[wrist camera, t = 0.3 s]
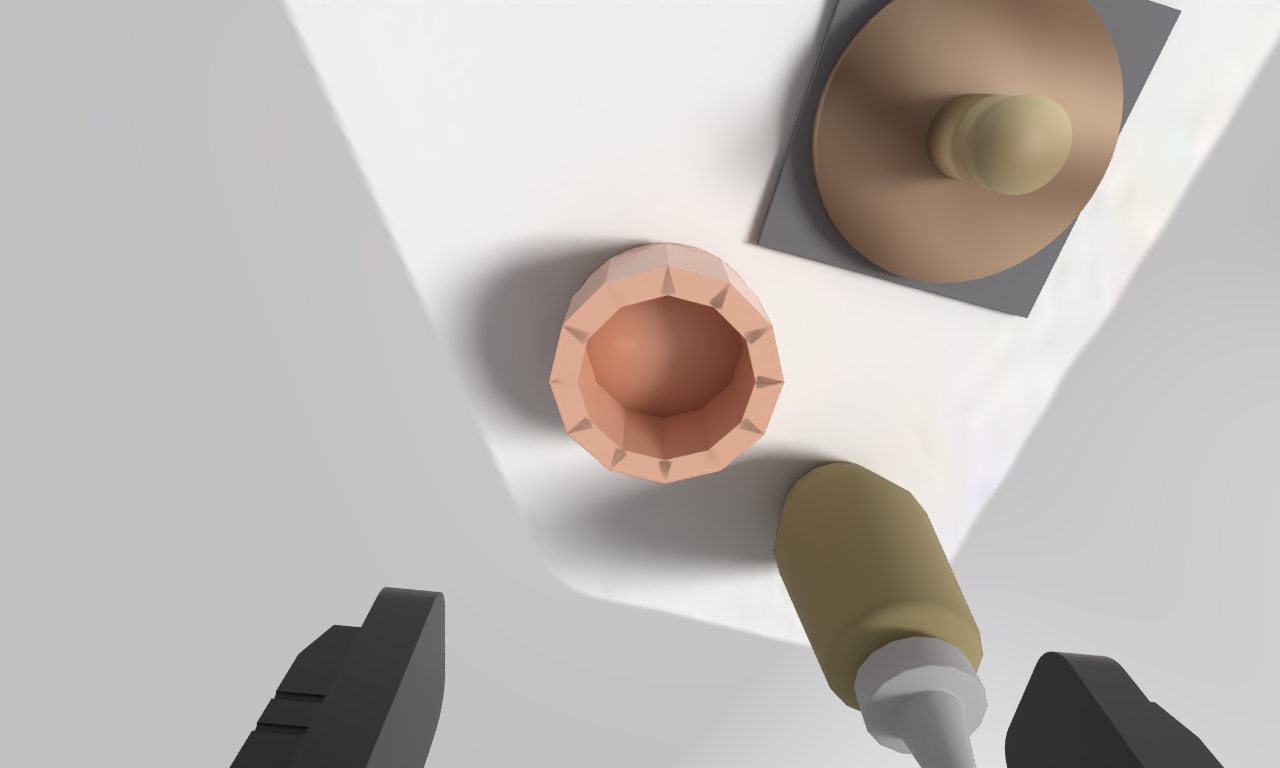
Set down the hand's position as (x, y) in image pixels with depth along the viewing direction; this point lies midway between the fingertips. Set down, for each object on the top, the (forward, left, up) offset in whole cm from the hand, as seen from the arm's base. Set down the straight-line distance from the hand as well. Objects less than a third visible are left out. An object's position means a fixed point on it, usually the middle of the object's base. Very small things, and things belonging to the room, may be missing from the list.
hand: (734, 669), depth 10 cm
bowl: (+5, +1, -27) cm, 28 cm away
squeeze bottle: (+12, +13, -27) cm, 32 cm away
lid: (-8, +11, -27) cm, 30 cm away
